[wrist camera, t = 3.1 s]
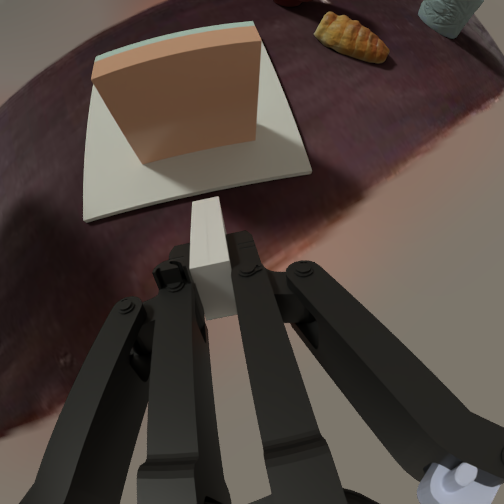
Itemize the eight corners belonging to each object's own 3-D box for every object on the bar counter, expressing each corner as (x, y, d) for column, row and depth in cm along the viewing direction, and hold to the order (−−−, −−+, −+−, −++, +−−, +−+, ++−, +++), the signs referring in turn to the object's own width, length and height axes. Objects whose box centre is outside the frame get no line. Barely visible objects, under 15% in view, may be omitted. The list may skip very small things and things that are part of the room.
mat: (86, 222, 23) (83, 220, 22) (97, 73, 27) (95, 70, 26) (310, 174, 24) (312, 170, 24) (258, 37, 28) (258, 33, 28)
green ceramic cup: (421, 26, 32) (445, -20, 20) (408, 3, 34) (426, -38, 22) (465, 48, 32) (492, 9, 20) (449, 22, 34) (471, -15, 22)
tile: (142, 164, 23) (90, 79, 13) (141, 142, 24) (95, 56, 13) (255, 140, 24) (261, 40, 13) (249, 119, 25) (252, 21, 14)
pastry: (388, 51, 29) (397, 32, 25) (379, 75, 28) (390, 54, 24) (325, 23, 30) (330, 3, 26) (308, 44, 29) (313, 21, 25)
